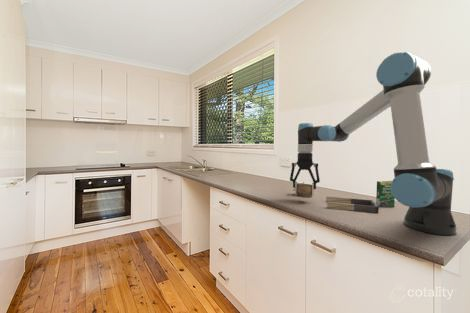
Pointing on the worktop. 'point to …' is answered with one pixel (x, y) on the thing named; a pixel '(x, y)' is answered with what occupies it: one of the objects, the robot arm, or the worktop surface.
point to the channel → (352, 204)
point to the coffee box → (384, 194)
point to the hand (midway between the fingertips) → (304, 194)
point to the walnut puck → (304, 190)
